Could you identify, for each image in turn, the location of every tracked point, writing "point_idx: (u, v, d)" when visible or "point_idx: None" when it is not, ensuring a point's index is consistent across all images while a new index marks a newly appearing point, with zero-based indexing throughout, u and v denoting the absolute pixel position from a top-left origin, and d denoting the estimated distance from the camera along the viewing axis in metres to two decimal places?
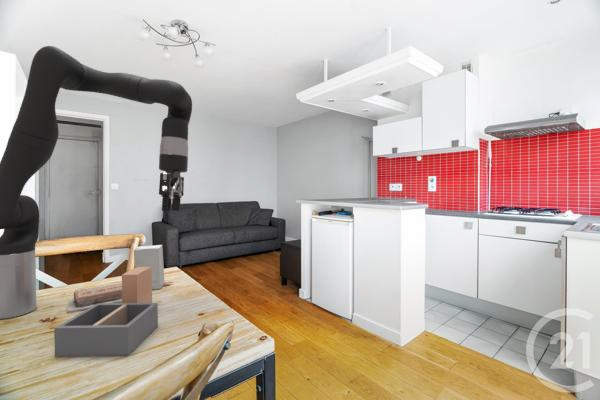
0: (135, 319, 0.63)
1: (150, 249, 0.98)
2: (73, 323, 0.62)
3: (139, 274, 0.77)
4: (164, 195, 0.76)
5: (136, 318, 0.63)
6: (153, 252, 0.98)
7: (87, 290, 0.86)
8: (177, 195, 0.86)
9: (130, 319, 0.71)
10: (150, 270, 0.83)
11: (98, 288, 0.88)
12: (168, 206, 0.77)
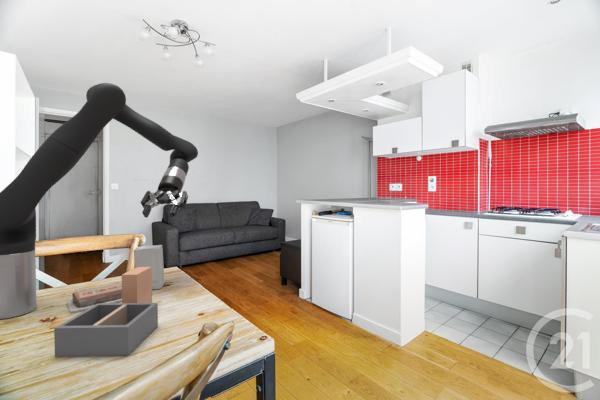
0: (135, 319, 0.63)
1: (150, 249, 0.98)
2: (73, 323, 0.62)
3: (139, 274, 0.77)
4: (181, 205, 0.95)
5: (136, 318, 0.63)
6: (153, 252, 0.98)
7: (87, 290, 0.86)
8: (150, 206, 0.96)
9: (130, 319, 0.71)
10: (150, 270, 0.83)
11: (98, 288, 0.88)
12: None
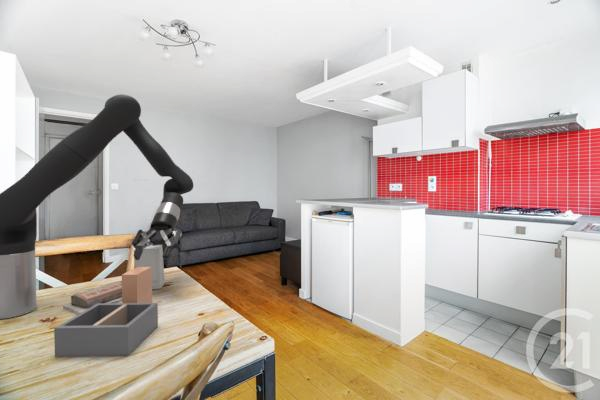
0: (135, 319, 0.63)
1: (150, 249, 0.98)
2: (73, 323, 0.62)
3: (139, 274, 0.77)
4: (174, 246, 0.91)
5: (136, 318, 0.63)
6: (153, 252, 0.98)
7: (88, 292, 0.85)
8: (142, 246, 0.91)
9: (130, 319, 0.71)
10: (150, 270, 0.83)
11: (98, 289, 0.87)
12: None
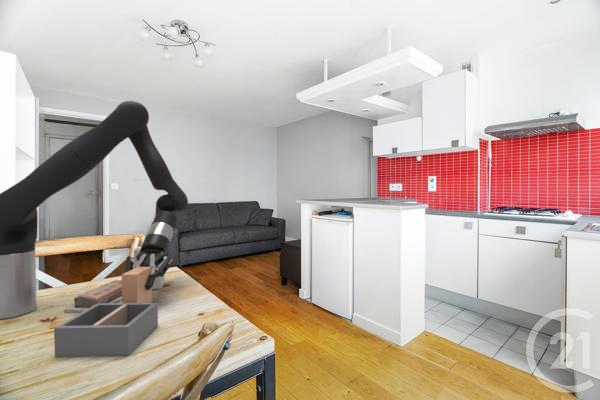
0: (135, 319, 0.63)
1: None
2: (73, 323, 0.62)
3: (139, 274, 0.77)
4: (158, 275, 0.84)
5: (136, 318, 0.63)
6: None
7: (91, 292, 0.84)
8: None
9: (130, 319, 0.71)
10: None
11: (99, 289, 0.87)
12: None
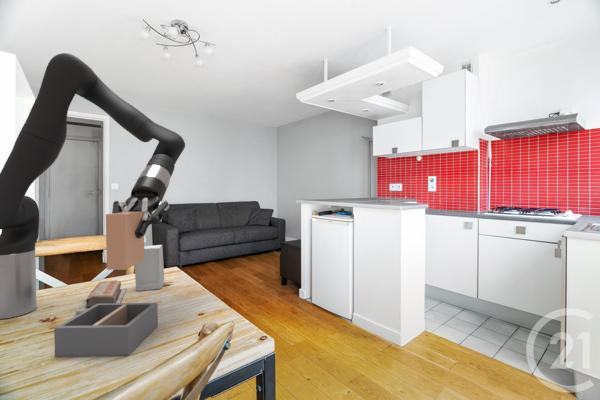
0: (135, 319, 0.63)
1: (150, 249, 0.98)
2: (73, 323, 0.62)
3: (128, 215, 0.62)
4: (152, 221, 0.69)
5: (136, 318, 0.63)
6: (153, 252, 0.98)
7: (99, 292, 0.84)
8: None
9: (130, 319, 0.71)
10: None
11: (101, 289, 0.87)
12: None
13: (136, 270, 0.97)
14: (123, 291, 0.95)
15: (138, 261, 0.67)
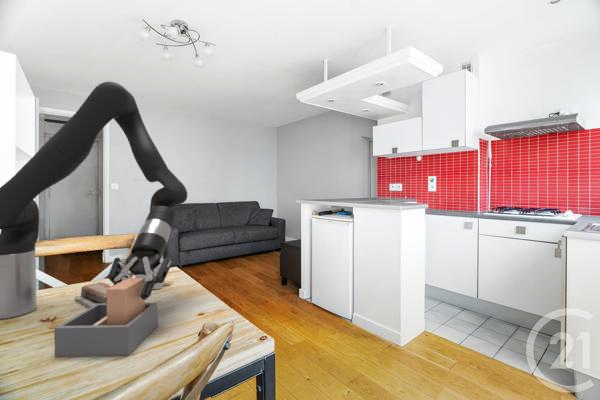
0: (135, 319, 0.63)
1: None
2: (73, 323, 0.62)
3: (128, 288, 0.63)
4: (157, 281, 0.69)
5: (136, 318, 0.63)
6: None
7: None
8: None
9: None
10: (143, 282, 0.69)
11: (105, 289, 0.87)
12: None
13: None
14: None
15: None
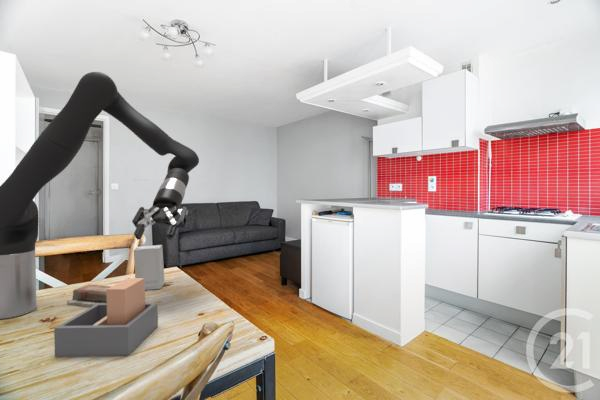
0: (135, 319, 0.63)
1: (150, 249, 0.98)
2: (73, 323, 0.62)
3: (128, 288, 0.63)
4: (180, 225, 0.81)
5: (136, 318, 0.63)
6: (153, 252, 0.98)
7: None
8: (144, 225, 0.81)
9: None
10: (143, 282, 0.69)
11: None
12: None
13: (136, 270, 0.97)
14: None
15: None
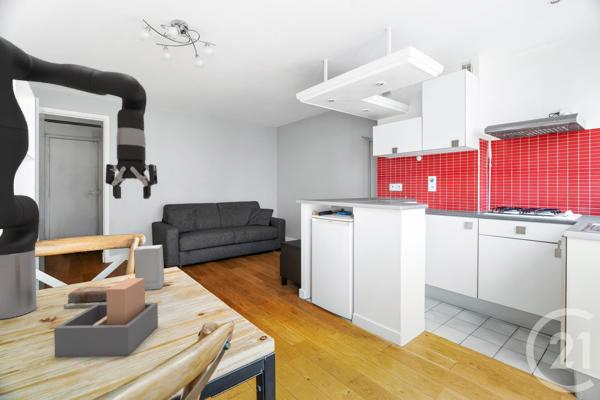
0: (135, 319, 0.63)
1: (150, 249, 0.98)
2: (73, 323, 0.62)
3: (128, 288, 0.63)
4: (152, 184, 0.86)
5: (136, 318, 0.63)
6: (153, 252, 0.98)
7: None
8: (118, 183, 0.86)
9: None
10: (143, 282, 0.69)
11: None
12: None
13: (136, 270, 0.97)
14: None
15: None
